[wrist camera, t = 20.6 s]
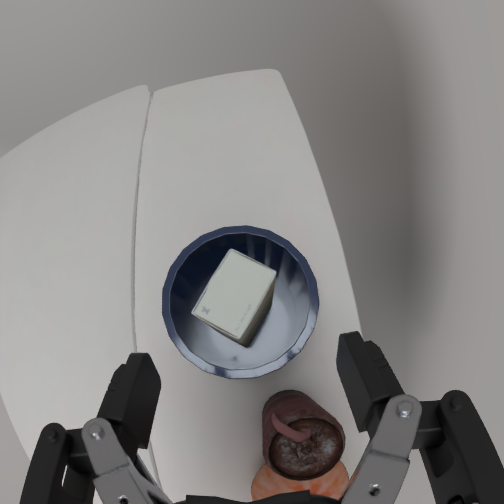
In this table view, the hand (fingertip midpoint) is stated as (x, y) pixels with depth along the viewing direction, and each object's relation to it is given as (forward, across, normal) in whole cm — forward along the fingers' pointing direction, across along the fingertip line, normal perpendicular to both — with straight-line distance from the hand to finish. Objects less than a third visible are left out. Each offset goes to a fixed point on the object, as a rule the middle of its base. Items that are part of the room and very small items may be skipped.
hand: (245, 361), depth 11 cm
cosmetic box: (+18, -1, -11) cm, 22 cm away
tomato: (+4, +3, -27) cm, 27 cm away
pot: (+19, -1, -11) cm, 22 cm away
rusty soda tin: (+10, +3, -20) cm, 23 cm away
